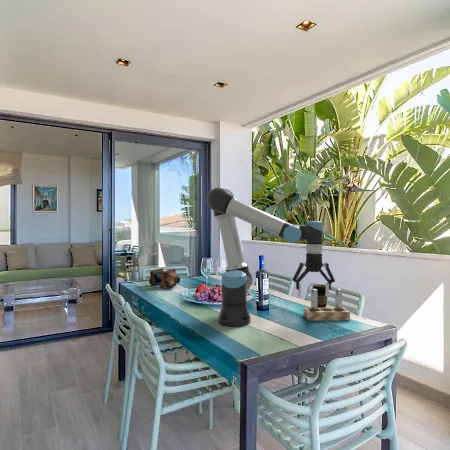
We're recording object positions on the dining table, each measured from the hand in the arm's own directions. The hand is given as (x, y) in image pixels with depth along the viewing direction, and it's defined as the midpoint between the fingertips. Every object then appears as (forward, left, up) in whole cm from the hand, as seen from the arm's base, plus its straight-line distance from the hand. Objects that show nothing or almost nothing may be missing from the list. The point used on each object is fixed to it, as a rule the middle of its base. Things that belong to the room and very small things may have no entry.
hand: (313, 296), depth 168 cm
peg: (0, 0, -11) cm, 11 cm away
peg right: (+12, 0, -11) cm, 16 cm away
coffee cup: (+7, +14, -11) cm, 19 cm away
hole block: (+6, 0, -11) cm, 12 cm away
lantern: (-83, +77, -11) cm, 114 cm away
